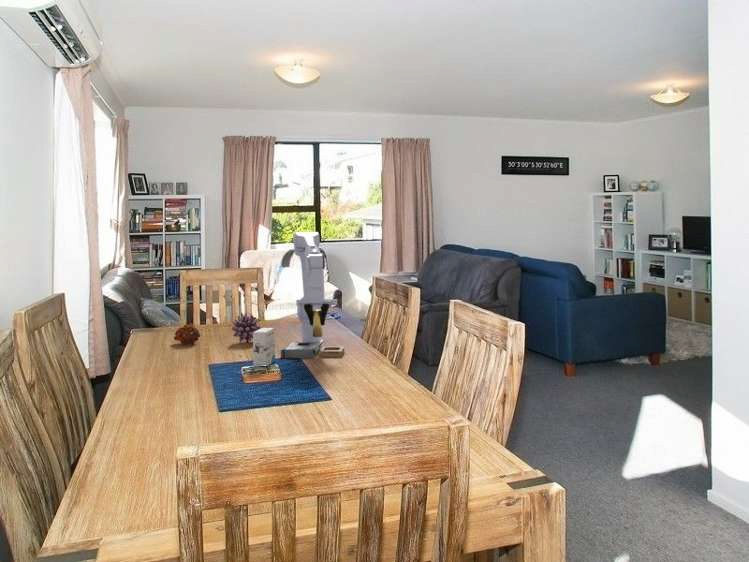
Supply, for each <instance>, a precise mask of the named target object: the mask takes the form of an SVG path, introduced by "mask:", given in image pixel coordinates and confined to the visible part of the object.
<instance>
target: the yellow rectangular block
mask: <svg viewBox="0 0 749 562" xmlns="http://www.w3.org/2000/svg"><path fill="white" fill-rule="evenodd" d="M312 328H313V337H321V338H322V337H323V336H324V333H323V332H324V331H323V329H324V328H323V325H322V312H321V310H312Z"/></svg>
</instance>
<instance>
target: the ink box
mask: <svg viewBox="0 0 749 562" xmlns="http://www.w3.org/2000/svg"><path fill="white" fill-rule="evenodd" d="M275 336H276V335H275V328H274V327H261V329H259V330H257V331H255V332H253V338H252V348H253V349H252V350H253V351H252V353H253V354H252V357H253V358H252V359H253V362H252V363H253V367H260V366H261V365H268V366H270V365H271V364H273V363H274V362H276V345H275V344H276V341H275V340H276V339H275ZM269 364H270V365H269Z"/></svg>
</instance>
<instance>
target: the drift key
mask: <svg viewBox="0 0 749 562" xmlns="http://www.w3.org/2000/svg"><path fill="white" fill-rule="evenodd" d="M285 349H286V347H282V348H281V349H280V358H285Z"/></svg>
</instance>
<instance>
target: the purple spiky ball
mask: <svg viewBox="0 0 749 562" xmlns="http://www.w3.org/2000/svg"><path fill="white" fill-rule="evenodd" d="M236 318H237V319H236ZM236 318H235V319H233V320H234V321H232V324H233V325H234V326H231V330H232V331H234V334H232V335H233V338H234V337H236V338H238V337H239V339H238V340H239V341H240V342H243V340H245V341H246V343H249V342H251V341H252V339H253V332H255V331H257V330H259V329H261V328H262V326H260V325H258V322H259V320H260V318H254V315H253V314H252V313H250V314H249V315H247V313H246V312H245V313H244V314H243V313H242V314H241V316H240V315H237V317H236Z"/></svg>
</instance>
